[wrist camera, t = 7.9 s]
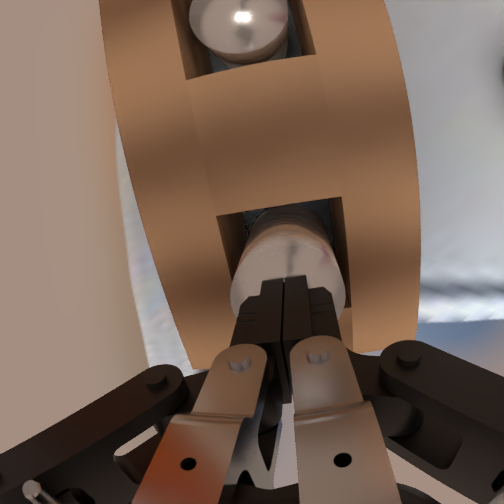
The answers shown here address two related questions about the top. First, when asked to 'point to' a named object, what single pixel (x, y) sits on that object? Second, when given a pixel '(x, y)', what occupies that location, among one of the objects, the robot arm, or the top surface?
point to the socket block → (269, 159)
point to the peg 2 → (287, 255)
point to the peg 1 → (242, 29)
